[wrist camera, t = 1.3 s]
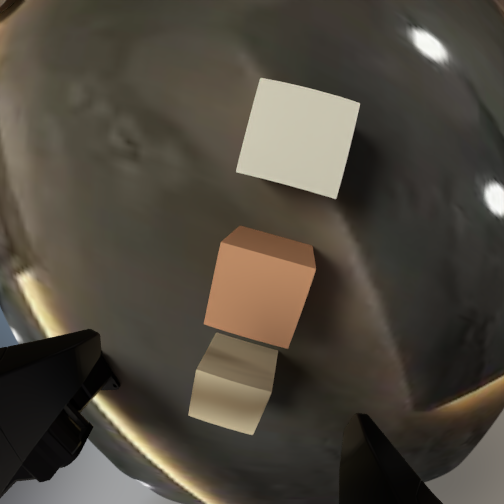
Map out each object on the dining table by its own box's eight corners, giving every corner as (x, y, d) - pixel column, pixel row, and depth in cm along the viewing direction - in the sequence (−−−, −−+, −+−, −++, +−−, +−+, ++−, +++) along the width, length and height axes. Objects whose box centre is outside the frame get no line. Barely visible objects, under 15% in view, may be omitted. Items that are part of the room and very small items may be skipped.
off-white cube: (326, 193, 18) (336, 199, 13) (252, 172, 19) (235, 172, 14) (344, 121, 17) (360, 103, 12) (270, 101, 17) (260, 77, 12)
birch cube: (261, 393, 23) (252, 435, 18) (206, 376, 24) (188, 415, 19) (278, 350, 22) (271, 391, 17) (216, 331, 22) (196, 369, 17)
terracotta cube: (291, 310, 21) (287, 349, 16) (224, 291, 21) (203, 324, 16) (312, 245, 19) (316, 268, 14) (240, 225, 20) (221, 241, 15)
